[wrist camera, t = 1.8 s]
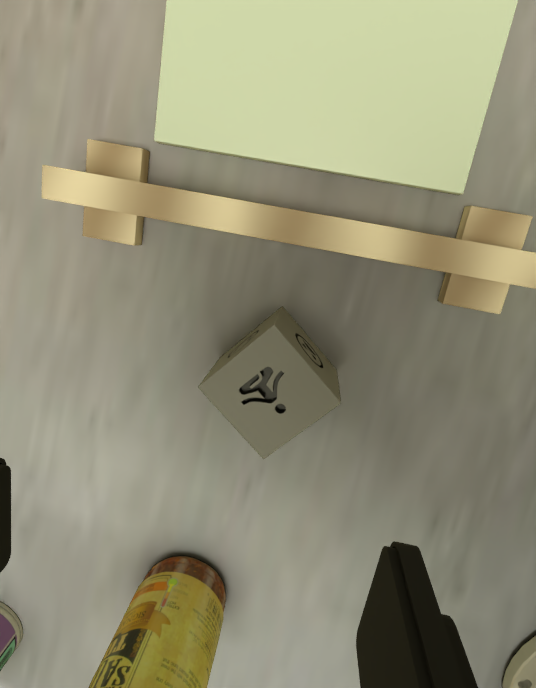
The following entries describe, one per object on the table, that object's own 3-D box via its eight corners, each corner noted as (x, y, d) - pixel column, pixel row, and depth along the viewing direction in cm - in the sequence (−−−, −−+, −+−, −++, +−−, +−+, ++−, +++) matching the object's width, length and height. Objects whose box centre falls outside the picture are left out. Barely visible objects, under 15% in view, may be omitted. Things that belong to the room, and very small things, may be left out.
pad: (530, -63, 19) (539, -74, 18) (457, 195, 22) (462, 193, 21) (183, -110, 20) (178, -123, 19) (159, 143, 23) (154, 140, 22)
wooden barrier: (533, 218, 22) (578, 216, 18) (501, 312, 23) (537, 328, 20) (88, 141, 23) (43, 124, 20) (83, 234, 25) (40, 235, 21)
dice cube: (282, 306, 25) (274, 324, 20) (336, 370, 25) (341, 403, 21) (219, 357, 26) (198, 387, 21) (273, 417, 27) (263, 459, 22)
